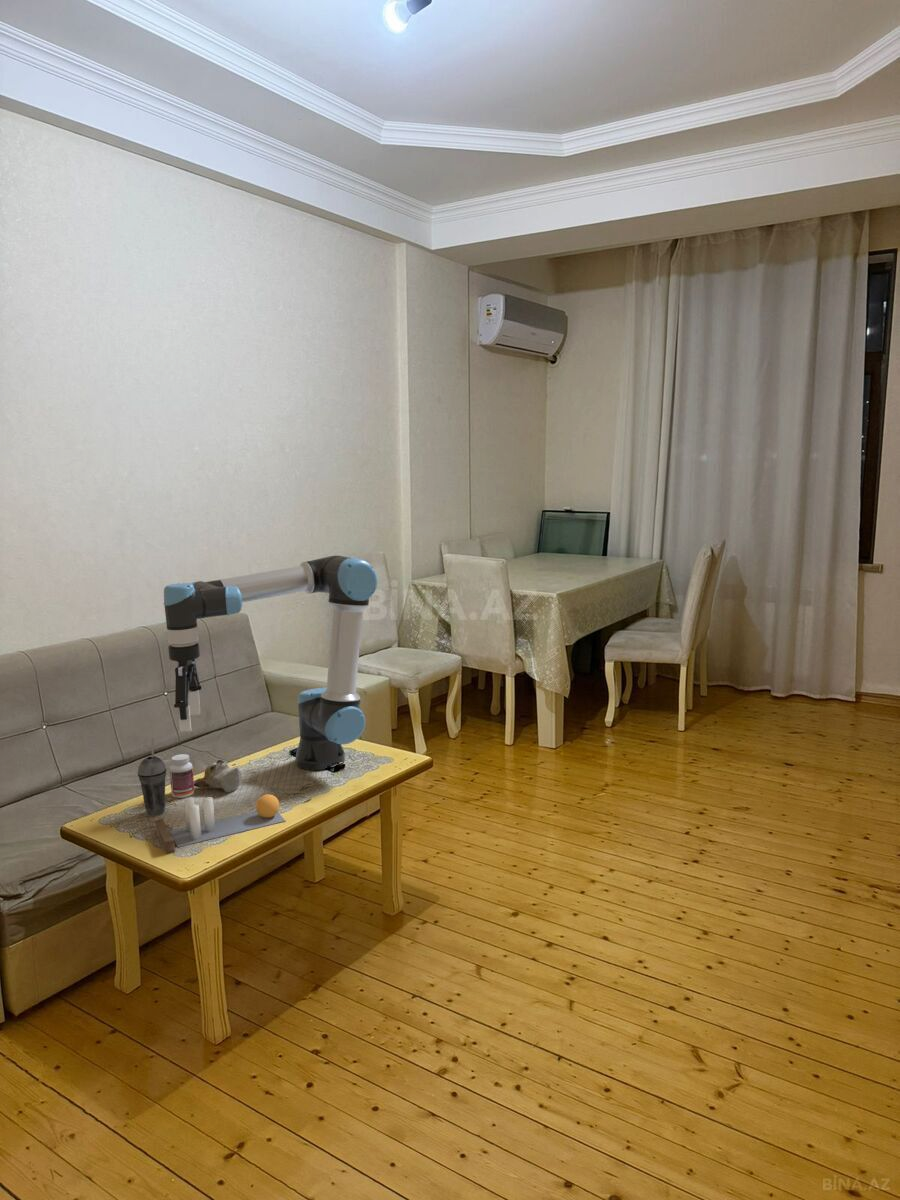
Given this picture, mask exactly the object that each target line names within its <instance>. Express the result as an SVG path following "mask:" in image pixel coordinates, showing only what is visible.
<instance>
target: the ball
mask: <svg viewBox="0 0 900 1200" xmlns="http://www.w3.org/2000/svg"><path fill="white" fill-rule="evenodd" d="M279 810H280V802H279V799H278V798H277V797H276V796H274V795H273V794H269V793H267V794H264V795H262V796H261V797H259V798H258V799H257V802H256V803H255V811H257V813H258V814H259V815H260V816H261V817H263V818H271V817H273V816H275V815H276V814H277V812H278V813H279Z"/></svg>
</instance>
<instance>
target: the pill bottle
mask: <svg viewBox="0 0 900 1200" xmlns="http://www.w3.org/2000/svg"><path fill="white" fill-rule="evenodd" d="M169 778H170V788H171V796H172V797H173V798H175V799H186V798H188V797H192V795H194V793H195V786H194V781H195V779H194V778H195V777H194V768H193V763H192V762H190V755H188V754H187V753H185V754H182V753H180V754H175V755H174V756H172V757H171V765H170V766H169Z"/></svg>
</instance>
